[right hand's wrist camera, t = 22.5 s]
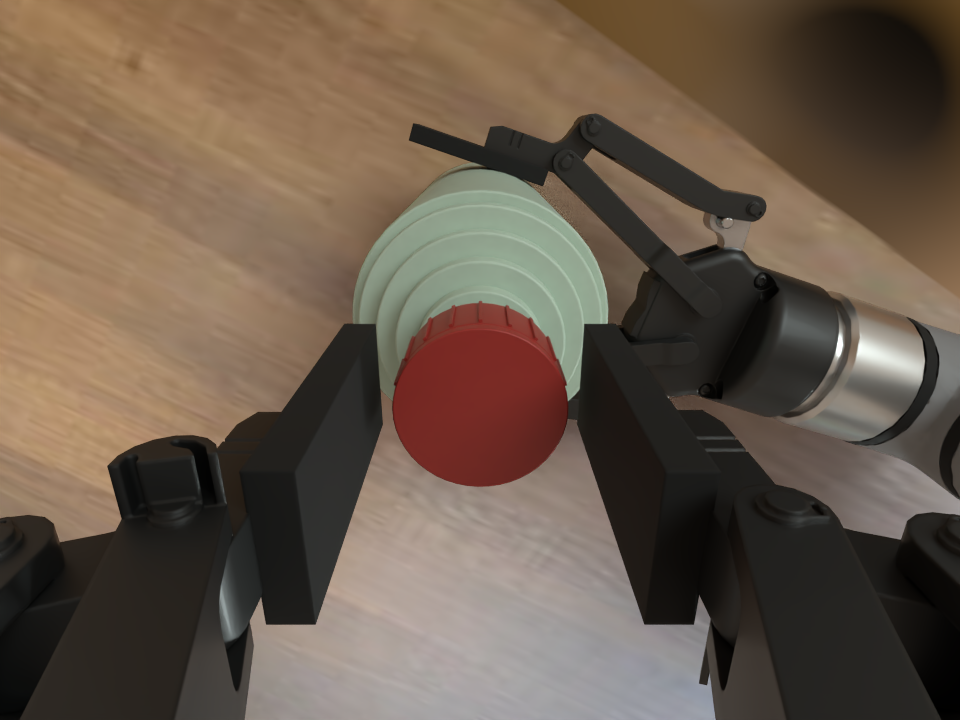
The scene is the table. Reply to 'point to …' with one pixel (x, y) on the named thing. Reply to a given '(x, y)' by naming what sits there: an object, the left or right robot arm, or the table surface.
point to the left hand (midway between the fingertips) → (390, 223)
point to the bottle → (480, 267)
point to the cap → (480, 396)
